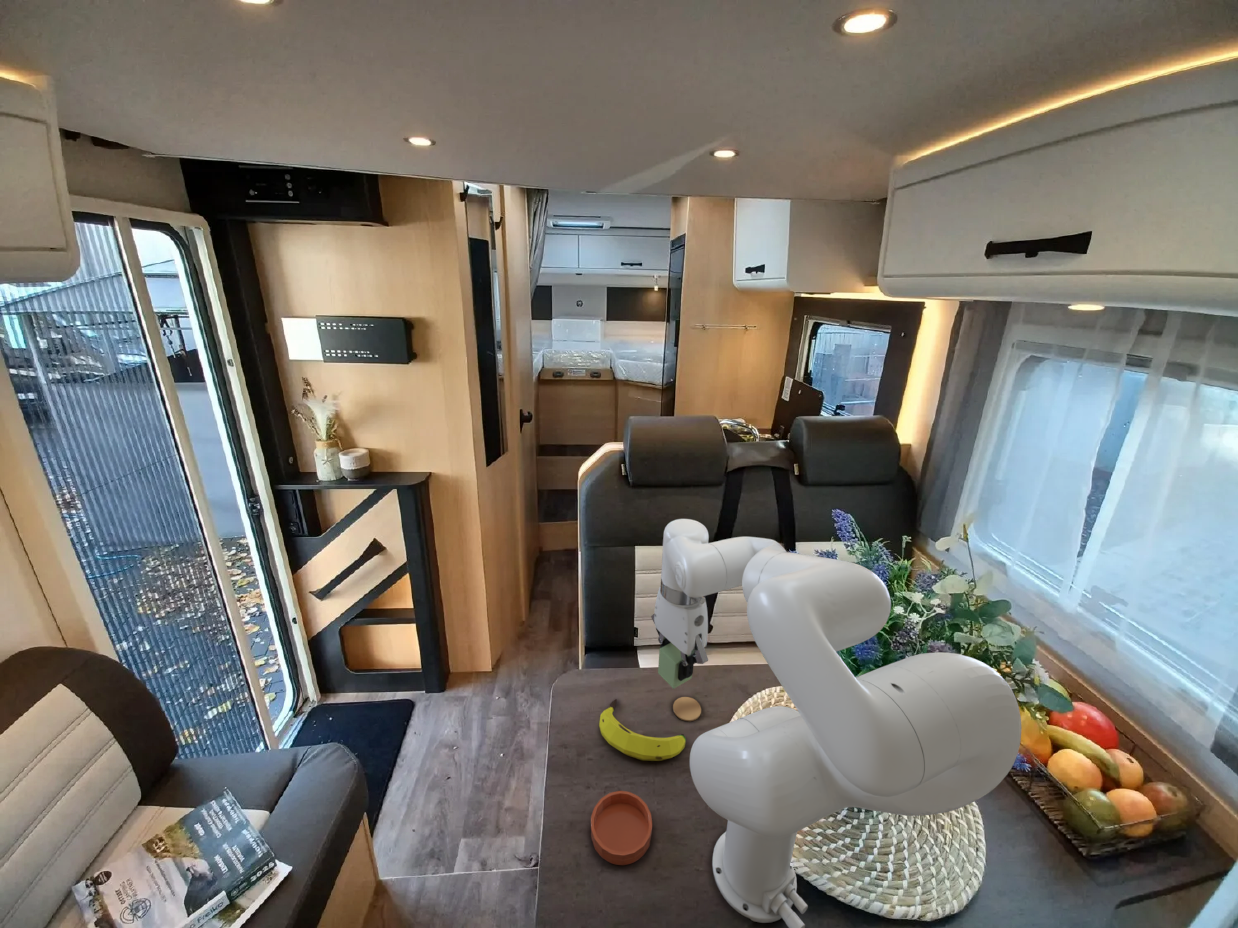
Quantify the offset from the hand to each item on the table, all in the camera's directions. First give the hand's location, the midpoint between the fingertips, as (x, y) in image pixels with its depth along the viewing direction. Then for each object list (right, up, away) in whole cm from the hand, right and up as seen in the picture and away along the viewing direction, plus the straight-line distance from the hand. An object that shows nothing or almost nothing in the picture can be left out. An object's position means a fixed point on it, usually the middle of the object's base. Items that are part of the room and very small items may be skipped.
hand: (675, 666), depth 91 cm
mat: (+4, -14, +12) cm, 19 cm away
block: (0, -2, +1) cm, 2 cm away
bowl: (-10, -23, -11) cm, 28 cm away
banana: (-6, -16, +7) cm, 19 cm away
